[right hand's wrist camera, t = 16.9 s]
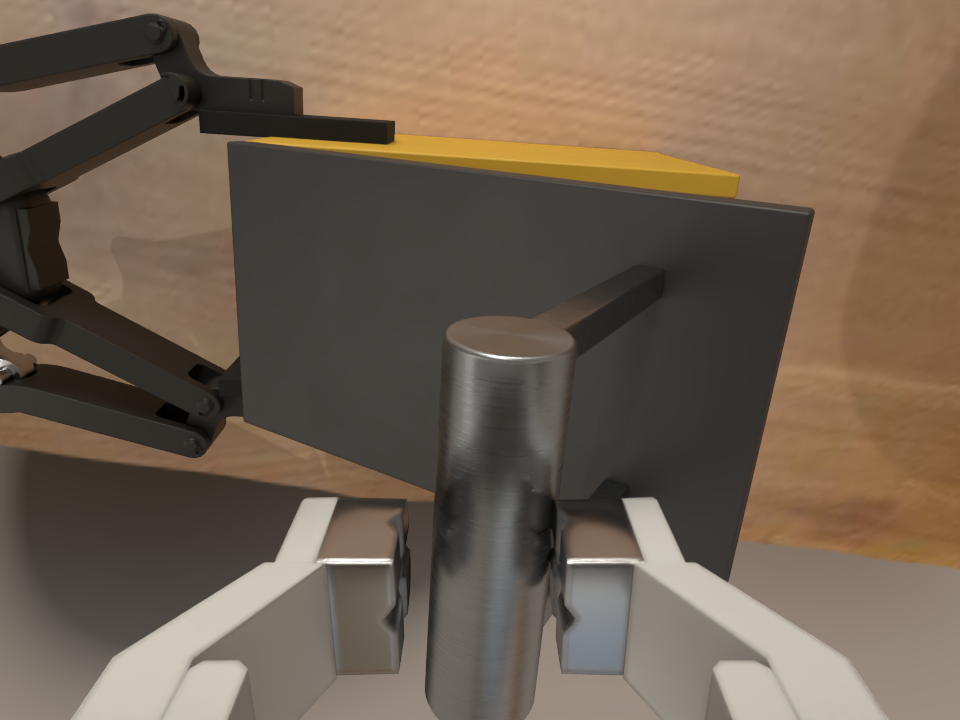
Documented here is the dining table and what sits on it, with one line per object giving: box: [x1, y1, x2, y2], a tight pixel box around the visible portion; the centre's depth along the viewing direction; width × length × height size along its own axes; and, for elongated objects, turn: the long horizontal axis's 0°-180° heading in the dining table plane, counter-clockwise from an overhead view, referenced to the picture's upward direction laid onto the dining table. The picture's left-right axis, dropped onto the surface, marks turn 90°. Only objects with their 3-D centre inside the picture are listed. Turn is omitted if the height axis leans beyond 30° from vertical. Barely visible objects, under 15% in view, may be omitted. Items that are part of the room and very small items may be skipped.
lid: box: [227, 141, 815, 720], centre depth 16 cm, size 16×9×9 cm, turn 85°
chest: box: [248, 134, 740, 199], centre depth 29 cm, size 16×9×11 cm, turn 86°
